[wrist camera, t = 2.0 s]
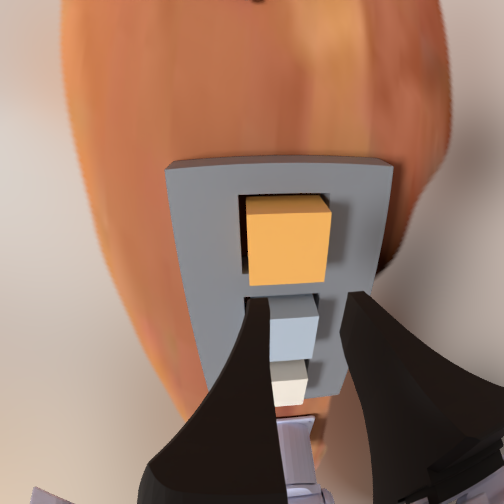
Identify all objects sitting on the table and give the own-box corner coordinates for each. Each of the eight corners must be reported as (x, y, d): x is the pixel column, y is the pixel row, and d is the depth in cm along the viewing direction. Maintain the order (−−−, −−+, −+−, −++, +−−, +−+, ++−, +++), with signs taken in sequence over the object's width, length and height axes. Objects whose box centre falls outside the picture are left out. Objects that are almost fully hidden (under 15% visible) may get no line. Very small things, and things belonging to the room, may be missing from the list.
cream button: (298, 381, 24) (302, 404, 22) (254, 384, 24) (255, 407, 22) (303, 354, 22) (307, 378, 20) (252, 357, 22) (254, 382, 20)
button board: (334, 378, 26) (338, 394, 24) (213, 386, 26) (212, 403, 24) (378, 158, 15) (393, 166, 14) (173, 161, 15) (164, 169, 14)
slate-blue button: (305, 332, 21) (311, 358, 18) (252, 336, 21) (253, 362, 18) (311, 290, 19) (319, 315, 16) (249, 293, 19) (250, 320, 16)
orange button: (314, 257, 17) (324, 282, 15) (248, 260, 17) (249, 285, 15) (319, 195, 15) (331, 212, 13) (245, 196, 15) (246, 214, 13)
